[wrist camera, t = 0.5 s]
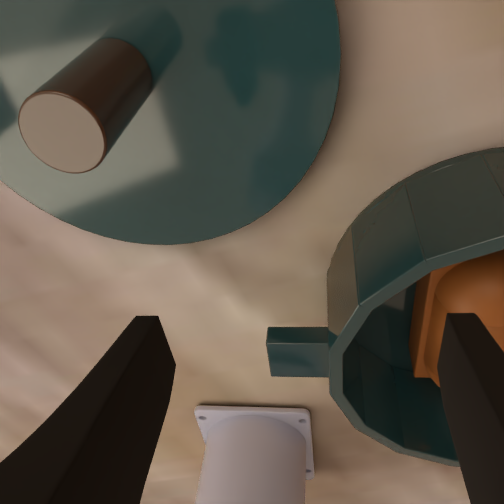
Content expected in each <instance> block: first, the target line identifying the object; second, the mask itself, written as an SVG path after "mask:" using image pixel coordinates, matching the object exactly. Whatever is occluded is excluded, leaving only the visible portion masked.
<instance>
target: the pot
mask: <svg viewBox="0 0 504 504" xmlns="http://www.w3.org/2000/svg"><path fill="white" fill-rule="evenodd" d="M501 250H504V147H501V148H491V149H487V150H482V151H478V152H473V153H468V154H464V155H461V156H458V157H455V158H452V159H449V160H446V161H442V162H439V163H437V164H435V165H433V166H430V167H428V168H426V169H424V170H421V171H419V172H417V173H415V174H413V175H411V176H410V177H408V178H406V179H404V180H403V181H401V182H399V183H397V184H396V185H394V186H393V187H391V188H390V189H389V190H387V191H386V192H384V193H383V194H382V195H380V196H379V197H378V198H376V199H375V200H374V201H373V202H372V203H371V204H370V205H369V206H368V207H366V208H365V209H364V210H363V211H362V212H361V213H360V214H359V215H358V217H357V218H356V219H355V220H354V221H353V223H352V224H351V225H350V226H349V227H348V229H347V230H346V232H345V234H344V235H343V237H342V238H341V240H340V242H339V243H338V245H337V248H336V250H335V252H334V255H333V257H332V260H331V264H330V267H329V269H328V271H327V306H328V327H268V330H267V339H266V347H267V353H268V360H269V366H270V372H271V376H277V377H329V390H330V395H331V397H332V398H333V399H334V401H335V402H336V403H337V405H338V406H339V407H340V409H341V410H342V411H343V413H344V414H345V416H346V417H347V418H348V420H349V421H350V422H351V424H352V425H353V426H354V428H356V429H357V430H358V431H360V432H362V433H364V434H365V435H367V436H369V437H371V438H372V439H374V440H376V441H378V442H379V443H381V444H383V445H385V446H386V447H388V448H390V449H392V450H394V451H395V452H398V453H401V454H405V455H409V456H413V457H417V458H421V459H425V460H429V461H433V462H437V463H441V464H445V465H449V466H455V467H460V464H459V460H458V457H457V453H456V450H455V447H454V443H453V440H452V436H451V432H450V429H449V425H448V422H447V418H446V415H445V411H444V407H443V401H442V396H441V390H440V387H439V386H437V384H436V383H435V382H434V381H433V380H432V379H431V378H425V377H414V374H413V368H412V363H411V357H410V352H409V346H408V343H409V335H410V328H411V320H412V313H413V306H414V298H415V291H416V283H417V281H418V280H420V279H421V278H423V277H424V276H426V275H427V274H429V273H430V272H432V271H434V270H437V269H440V268H444V267H447V266H450V265H454V264H457V263H461V262H464V261H467V260H471V259H474V258H477V257H481V256H484V255H487V254H491V253H494V252H498V251H501Z"/></svg>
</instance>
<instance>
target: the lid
mask: <svg viewBox="0 0 504 504" xmlns="http://www.w3.org/2000/svg"><path fill="white" fill-rule="evenodd" d="M340 66H341V44H340V29H339V17H338V12H337V7H336V2H335V0H0V181H2V182H3V183H4V184H6V185H7V186H8V187H9V188H11V189H12V190H13V191H14V192H16V193H17V194H18V195H20V196H21V197H23V198H24V199H26V200H27V201H29V202H30V203H32V204H33V205H35V206H36V207H38V208H39V209H41V210H43V211H45V212H47V213H49V214H50V215H52V216H54V217H56V218H58V219H60V220H62V221H64V222H66V223H69V224H71V225H73V226H76V227H78V228H80V229H83V230H86V231H89V232H92V233H95V234H98V235H101V236H104V237H108V238H112V239H117V240H121V241H125V242H133V243H141V244H152V245H174V244H186V243H193V242H199V241H204V240H209V239H213V238H216V237H219V236H222V235H225V234H228V233H231V232H233V231H235V230H237V229H239V228H242V227H244V226H246V225H248V224H250V223H252V222H253V221H255V220H256V219H258V218H259V217H261V216H263V215H264V214H266V213H267V212H269V211H270V210H271V209H272V208H273V207H275V206H276V205H277V204H278V203H279V202H281V201H282V200H283V199H284V198H285V197H286V196H287V195H288V194H289V193H290V192H291V191H292V190H293V188H294V187H295V186H296V185H297V184H298V183H299V182H300V181H301V179H302V178H303V176H304V175H305V173H306V172H307V170H308V169H309V168H310V166H311V165H312V163H313V162H314V160H315V158H316V156H317V154H318V152H319V150H320V148H321V146H322V144H323V142H324V140H325V138H326V135H327V132H328V129H329V126H330V123H331V120H332V117H333V114H334V109H335V104H336V99H337V94H338V89H339V82H340Z"/></svg>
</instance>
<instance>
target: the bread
mask: <svg viewBox="0 0 504 504" xmlns="http://www.w3.org/2000/svg"><path fill="white" fill-rule="evenodd" d="M447 313H475V314H476V315H477V316H478V317H479V318H480V319H481V321H482V322H483V324H484V325H485V327H486V328H487V330H488V331H489V332H490V334H491V335H492V337H493V338H494V339H495V341H496V342H497V343H498V345H499V346H500V348H501V349H502V350H503V352H504V250H501V251H498V252H494V253H491V254H487V255H484V256H481V257H477V258H474V259H471V260H467V261H464V262H461V263H457V264H454V265H450V266H447V267H444V268H440V269H437V270H434V271H432V272H430V273H429V274H427V275H426V276H424V277H423V278H421V279H420V280H418V281H417V283H416V291H415V298H414V306H413V313H412V320H411V328H410V335H409V343H408V346H409V352H410V357H411V363H412V368H413V374H414V377H425V378H431V379H432V380H433V381H434V382H435V383H436V384H437V386H439V387H440V383H439V377H438V370H437V364H438V358H439V353H440V348H441V342H442V337H443V331H444V326H445V321H446V315H447Z"/></svg>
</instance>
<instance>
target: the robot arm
mask: <svg viewBox="0 0 504 504" xmlns="http://www.w3.org/2000/svg"><path fill="white" fill-rule="evenodd" d="M175 367H176V363H175V361H174V358H173V355H172V352H171V350H170V347H169V344H168V342H167V339H166V336H165V333H164V331H163V328H162V325H161V323H160V320H159V317H158V316H136V317H135V318H134V319H133V320H132V321H131V322H130V324H129V325H128V326H127V327H126V329H125V330H124V331H123V332H122V334H121V335H120V336H119V337H118V338H117V340H116V341H115V342H114V343H113V345H112V346H111V347H110V348H109V350H108V351H107V352H106V353H105V354H104V356H103V357H102V358H101V359H100V361H99V362H98V363H97V364H96V365H95V366H94V368H93V369H92V370H91V371H90V372H89V374H88V375H87V376H86V377H85V378H84V379H83V381H82V382H81V383H80V384H79V385H78V386H77V387H76V389H75V390H74V391H73V392H72V393H71V394H70V395H69V396H68V397H67V398H66V399H65V401H64V402H63V403H62V404H61V405H60V406H59V407H58V408H57V409H56V410H55V411H54V412H53V413H52V415H51V416H50V417H49V418H48V419H47V420H46V421H45V422H44V423H43V424H42V425H41V426H40V427H39V428H38V429H37V430H36V431H35V432H34V433H33V434H31V435H30V436H29V437H28V438H27V439H26V440H25V441H24V442H23V443H22V444H21V445H20V446H19V447H18V448H17V449H15V450H14V451H13V452H12V453H11V454H10V455H9V456H8V457H6V458H5V459H4V460H3V461H2V462H1V463H0V504H140V500H141V496H142V493H143V489H144V485H145V481H146V478H147V475H148V472H149V468H150V465H151V462H152V458H153V455H154V452H155V449H156V445H157V442H158V439H159V436H160V432H161V429H162V426H163V422H164V419H165V416H166V412H167V409H168V405H169V402H170V397H171V391H172V386H173V380H174V374H175ZM437 370H438V377H439V383H440V390H441V396H442V401H443V407H444V411H445V415H446V418H447V422H448V425H449V429H450V432H451V436H452V440H453V443H454V447H455V450H456V453H457V457H458V460H459V464H460V467H461V471H462V474H463V478H464V481H465V485H466V488H467V492H468V495H469V499H470V503H471V504H504V352H503V350H502V349H501V348H500V346H499V345H498V343H497V342H496V341H495V339H494V338H493V337H492V335H491V334H490V332H489V331H488V330H487V328H486V327H485V325H484V324H483V322H482V321H481V319H480V318H479V317H478V316H477V315H476V314H475V313H447V315H446V321H445V326H444V331H443V337H442V342H441V348H440V353H439V358H438V364H437ZM194 414H195V416H196V419H197V422H198V425H199V428H200V431H201V433H202V436H203V439H204V442H205V445H206V448H205V453H204V458H203V463H202V468H201V474H200V479H199V484H198V489H197V494H196V500H195V504H305V480H311V479H313V478H314V477H315V471H314V459H313V446H312V433H311V421H310V412H309V411H308V410H307V409H304V408H275V407H241V406H206V405H199V406H197V407H196V408H195V411H194Z"/></svg>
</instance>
